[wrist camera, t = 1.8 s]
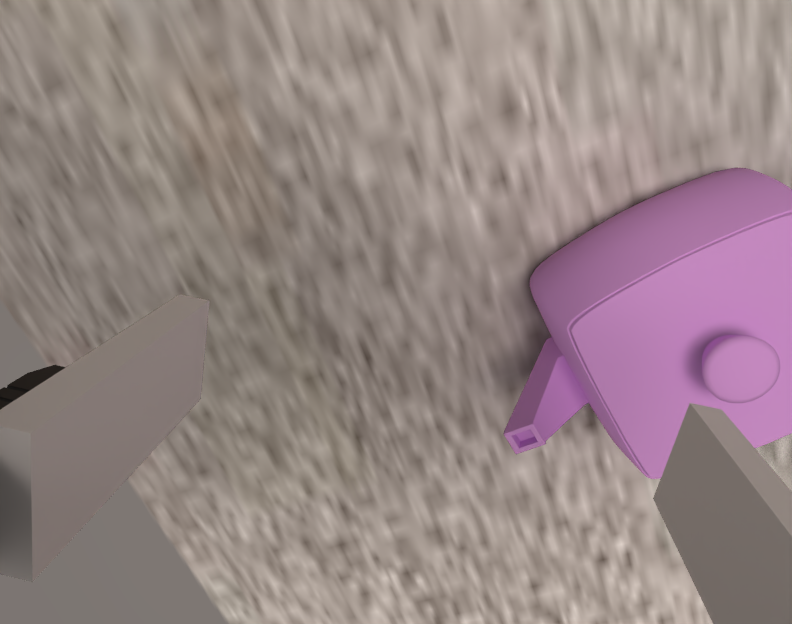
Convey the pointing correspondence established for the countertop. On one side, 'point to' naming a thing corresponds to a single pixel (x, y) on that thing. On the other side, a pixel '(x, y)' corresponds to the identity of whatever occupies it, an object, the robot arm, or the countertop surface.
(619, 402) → the teapot
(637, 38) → the countertop surface
